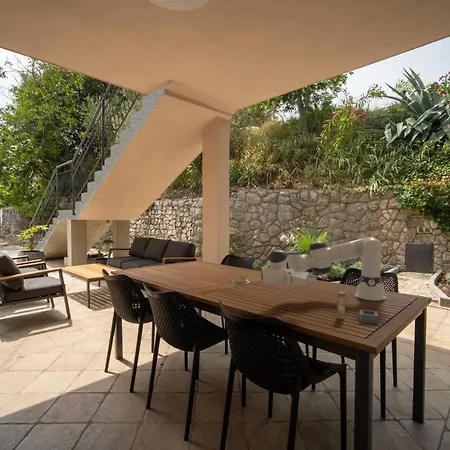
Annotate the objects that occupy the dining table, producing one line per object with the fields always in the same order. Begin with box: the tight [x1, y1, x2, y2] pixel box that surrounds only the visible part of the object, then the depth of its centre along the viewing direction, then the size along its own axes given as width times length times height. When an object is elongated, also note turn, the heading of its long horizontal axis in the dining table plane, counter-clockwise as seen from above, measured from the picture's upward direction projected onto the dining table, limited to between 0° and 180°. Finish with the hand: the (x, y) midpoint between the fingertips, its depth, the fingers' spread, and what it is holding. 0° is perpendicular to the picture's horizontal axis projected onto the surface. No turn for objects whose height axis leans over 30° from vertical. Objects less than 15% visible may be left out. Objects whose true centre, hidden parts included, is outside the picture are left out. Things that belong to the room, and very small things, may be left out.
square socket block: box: [358, 309, 379, 325], centre depth 162 cm, size 8×8×4 cm
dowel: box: [336, 291, 346, 320], centre depth 166 cm, size 4×4×13 cm
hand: (316, 279), depth 170 cm, fingers open, 8 cm apart
